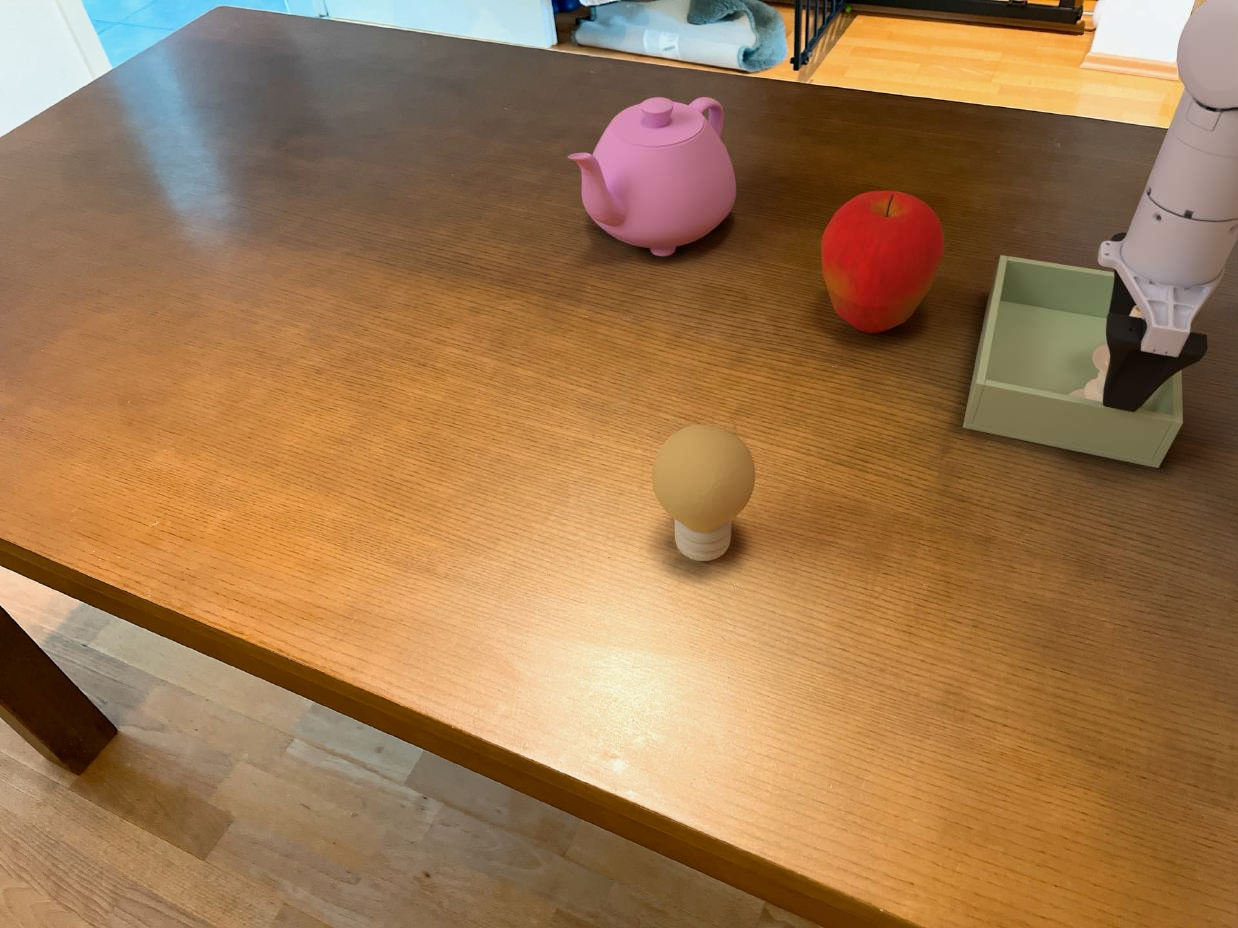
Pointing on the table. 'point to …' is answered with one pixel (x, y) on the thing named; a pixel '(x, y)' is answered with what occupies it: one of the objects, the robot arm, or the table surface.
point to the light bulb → (703, 487)
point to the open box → (1059, 367)
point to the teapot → (660, 174)
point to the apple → (881, 258)
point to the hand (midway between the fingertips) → (1120, 369)
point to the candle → (1101, 361)
